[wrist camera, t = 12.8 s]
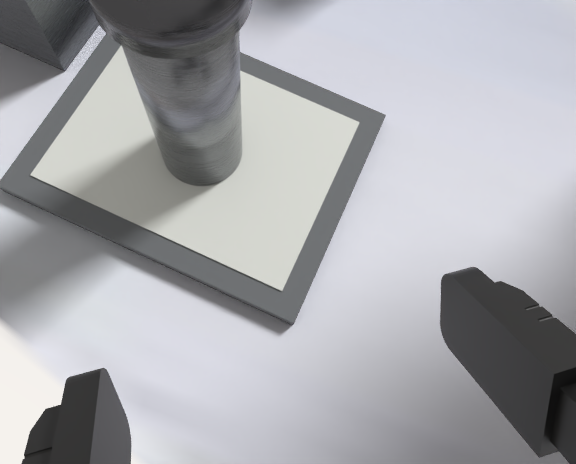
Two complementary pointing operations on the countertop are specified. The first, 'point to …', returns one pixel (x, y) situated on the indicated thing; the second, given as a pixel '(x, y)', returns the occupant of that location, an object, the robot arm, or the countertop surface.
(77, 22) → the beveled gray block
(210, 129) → the salt shaker
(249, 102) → the mat
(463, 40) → the countertop surface
